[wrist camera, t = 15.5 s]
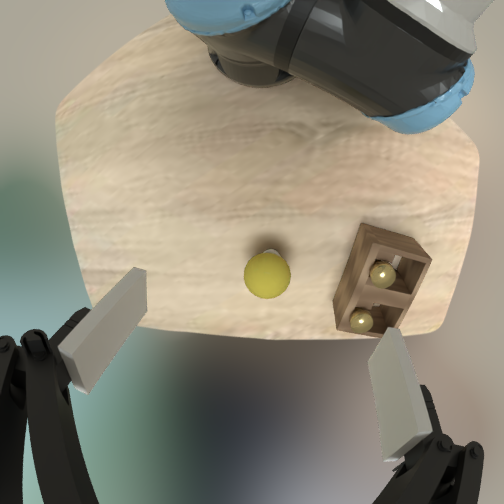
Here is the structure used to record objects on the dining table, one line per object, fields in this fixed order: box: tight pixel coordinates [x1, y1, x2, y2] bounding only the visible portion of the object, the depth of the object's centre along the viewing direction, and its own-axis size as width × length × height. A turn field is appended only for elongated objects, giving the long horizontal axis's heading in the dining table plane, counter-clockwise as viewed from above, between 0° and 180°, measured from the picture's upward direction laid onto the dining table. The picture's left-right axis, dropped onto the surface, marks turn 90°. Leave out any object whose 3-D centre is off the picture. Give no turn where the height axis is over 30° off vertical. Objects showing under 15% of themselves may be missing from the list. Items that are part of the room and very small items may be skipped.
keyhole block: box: [333, 223, 432, 338], centre depth 41 cm, size 15×10×8 cm, turn 169°
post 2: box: [370, 259, 396, 289], centre depth 39 cm, size 3×3×10 cm
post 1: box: [350, 307, 373, 333], centre depth 42 cm, size 3×3×10 cm
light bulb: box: [244, 249, 291, 299], centre depth 42 cm, size 7×7×10 cm
